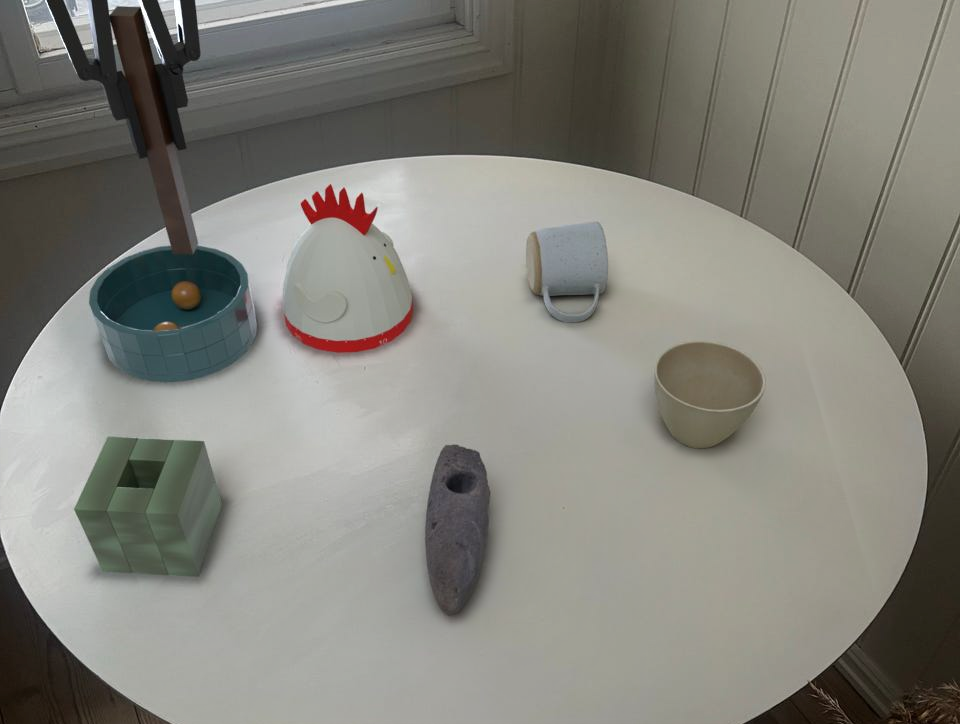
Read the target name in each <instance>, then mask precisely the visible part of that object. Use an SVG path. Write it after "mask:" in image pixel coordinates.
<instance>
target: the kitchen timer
mask: <svg viewBox="0 0 960 724" xmlns="http://www.w3.org/2000/svg"><path fill="white" fill-rule="evenodd" d="M311 199H312V202H313V205H314V208H315V209H314V208H313V207H312V206H311V204H310V203H309V201H308V200H307V199H306V198H303V200H302V201H301V202H300V207H301V209H302V212H303V213H304V215H305V218H306V219H307V220H308V222H309V225H308V226H307V227H306V228H305V229H304V231H302V233H301V234H300V235H299V237H298V239H297V240H296V242H295V244H294V246H293V247H292V251H291V254H290V256H289V259H288V262H287V265H286V270H285V275H284V280H283V285H282V296H281V297H282V309H283V316H284V321H285V326H286V327H287V329H288V331H289V332H290V333H291V336H293V337H294V338H295V339H297V340H298V341H299V342H300V343H302V344H304V345H306V346H308V347H311V348H314V349H316V350H319V351H322V352H324V351H325V352H329V353H336V354H341V353H343V354H344V353H359V352H365V351H369V350H374V349H377V348H379V347H381V346H383V345H386V344H389V343H390V342H393V341H394V340H395V339H396V338H398V337H399V336H400V335H402V334H403V333H404V331H406V329H407V327H408V326H409V325H410V323H411V322H412V317H413V312H414V306H413V305H414V304H413V295H412V290H411V287H410V283H409V280H408V276H407V274H406V270H405V269H404V266H403V263H402V261H401V259H400V257H399V255H398V252H397V250H396V248H395V247H394V242H393V240H392V238H391V237H390V236H389V235H388V234H387V233H386V232H384V231H381V230H380V229H379V228H378V227H377V225H375V224H374V223H373V222H374V220H375V218H376V215H377V213H378V208H379V207H378V206H376V207H375V208H374V209H373V210H372V211H371V212H370V213H368V212H367V211H366V206H365V197H364V192H360V194H359V195H358V196H357V197H356V199H355V201H354V207H353V208H352V206H351V201H350V199H349V195H348V192H347V190H346V187H345V186H344V187H342V188H341V189H340V190H339V193H338V200H337V197H336V194H335V191H334V188H333V185H332V184H331V183H330V184H328V185H327V187H325V189H324V198H323V197H322V195H321V194H320V192H319V191H318V190H316V191H315V192H314V193H313V194H312V195H311Z"/></svg>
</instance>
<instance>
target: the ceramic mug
mask: <svg viewBox="0 0 960 724" xmlns="http://www.w3.org/2000/svg"><path fill="white" fill-rule="evenodd" d="M525 244H526V245H525V263H526V272H527V279H528V284H529V288H530V290H531V291H532V293H534V294H535V295H537V296H543V302H544V305H545V307H546V309H547V311H548V313H549V314H550V315H551V316H552V317H553V318H555V319H556V320H558V321H560V322H563V323H580V322H583V321H586V320H587V319H588V318H590V317H591V316H592V314H593V313H594V312H595V310H596V308H597V306H598V302H599V297H600V294H603V293H604V292H605V290H606V289H607V288H606V287H607V283H608V277H609V276H608V275H609V260H608V259H609V258H608V257H609V256H608V247H607V239H606V235H605V231H604V228H603V226H602V225H601V223H600V222H599V221H590V222H584V223H575V224H568V225H561V226H552V227H546V228H541V229H538V230H535V231H532V232H530V233H529V235H527V238H526V243H525ZM579 295H580V296H583V295H593V301H592V303H591V304H590V306H588V307H587V308H586V310H584V311H583V312H581V313H575V314H574V313H567V312H565V311H562V310H560V309H558V308H556V307H555V306H554V304H553V302H552V301H551V298H550V297H553V296H579Z"/></svg>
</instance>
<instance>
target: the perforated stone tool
mask: <svg viewBox="0 0 960 724" xmlns="http://www.w3.org/2000/svg"><path fill="white" fill-rule="evenodd" d="M487 473H488V472H487V470H486V466H485V464H484V462H483V459H482V457H481V453H480V451H478V450H476V449H473V448H467V447H465V446H460V445H459V444H445V445H444V446H443V447H442V449H441V450H440V453H439V455H438V457H437V460H436V462H435V465H434V469H433V473H432V478H431V482H430V487H429V493H428V498H427V505H426V515H425V527H424V528H425V529H424V535H425V536H424V541H425V542H424V543H425V556H426V557H425V558H426V567H427V574H428V579H429V584H430V588H431V590H432V594H433V597H434V599H435V601H436V604H437V606H438V607H439V609H440V610H441V611H442V613H444V615H446V616H447V617H450V616H453V615H455V614H457V613H459V611H460V610H461V609H462V608H463V607H464V606H465V604H466V603H467V601H468V600H469V598H470V597H471V594H472V592H473V591H474V589H475V586H476V585H477V582H478V579H479V576H480V573H481V570H482V565H483V561H484V557H485V551H486V545H487V542H488V541H487V540H488V533H489V526H490V522H489V521H490V520H489V519H490V518H489V514H488V511H489V505H490V501H491V489H490V486H489V481H488V474H487Z"/></svg>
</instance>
